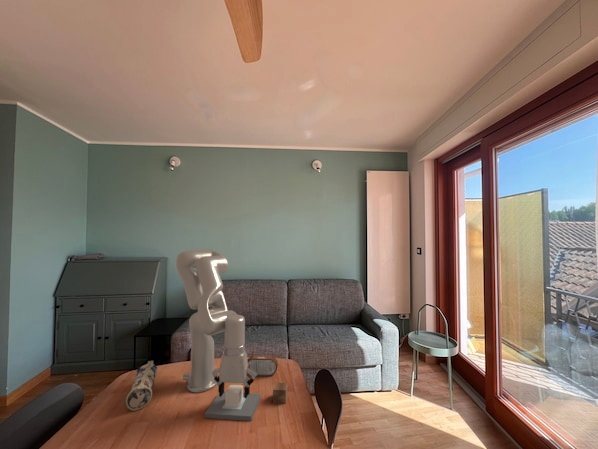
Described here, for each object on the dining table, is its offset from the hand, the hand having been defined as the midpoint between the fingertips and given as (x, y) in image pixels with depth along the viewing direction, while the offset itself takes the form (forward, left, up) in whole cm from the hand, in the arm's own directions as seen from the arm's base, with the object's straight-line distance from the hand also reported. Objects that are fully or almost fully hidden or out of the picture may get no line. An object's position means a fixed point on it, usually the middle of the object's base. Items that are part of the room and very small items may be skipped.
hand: (234, 395), depth 97 cm
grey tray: (0, 0, -4) cm, 4 cm away
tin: (+5, +23, -5) cm, 24 cm away
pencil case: (-39, +3, -5) cm, 40 cm away
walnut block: (+17, +6, -4) cm, 18 cm away
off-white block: (0, 0, -3) cm, 3 cm away
